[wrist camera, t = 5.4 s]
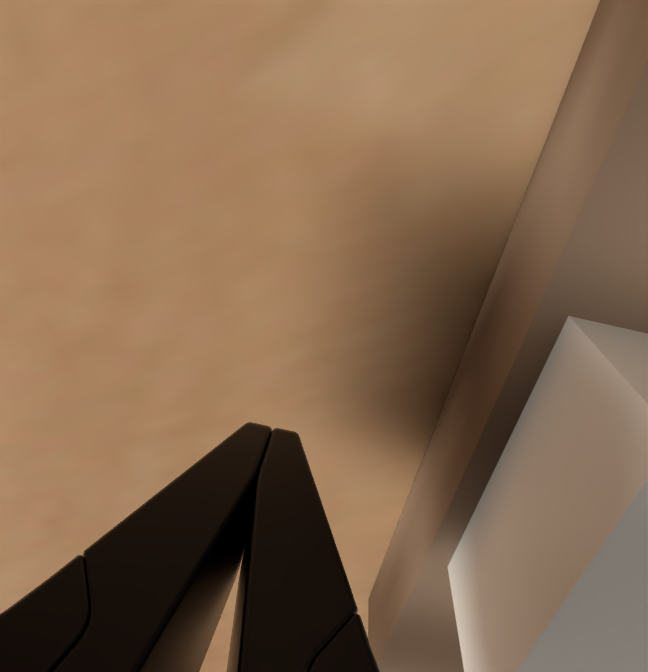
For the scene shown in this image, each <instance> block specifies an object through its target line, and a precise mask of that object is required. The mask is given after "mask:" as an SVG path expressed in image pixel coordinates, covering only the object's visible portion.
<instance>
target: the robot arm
mask: <svg viewBox="0 0 648 672" xmlns="http://www.w3.org/2000/svg"><path fill="white" fill-rule="evenodd" d="M242 557H243V559H242ZM241 560H242V565H241V571H240V577H239V583H238V591H237V598H236V606H235V613H234V621H233V628H232V636H231V643H230V651H229V658H228V666H227V672H380V670H379V668H378V665H377V662H376V659H375V657H374V654H373V651H372V649H371V646H370V643H369V640H368V637H367V634H366V631H365V629H364V626H363V623H362V620H361V617H360V615H358V614H357V612H358V609H357V606H356V603H355V600H354V597H353V594H352V591H351V588H350V585H349V582H348V579H347V576H346V573H345V570H344V567H343V564H342V561H341V558H340V556H339V553H338V550H337V547H336V544H335V541H334V538H333V535H332V532H331V529H330V526H329V523H328V520H327V517H326V514H325V511H324V508H323V505H322V502H321V499H320V496H319V493H318V491H317V488H316V485H315V482H314V479H313V476H312V473H311V470H310V467H309V464H308V461H307V458H306V455H305V452H304V449H303V446H302V443H301V440H300V437H299V435H298V434H297V433H296V432H293V431H289V430H284V429H279V428H275V429H274V430H273V431H272V429H271V428H270V427H269V426H265V425H261V424H256V423H252V422H249V423H246V424H245V425H243V426H242V427H241V428H240V429H238V430H237V431H236V432H234V433H233V434H232V435H231V436H229V437H228V438H227V439H226V440H224V441H223V442H222V443H221V444H219V445H218V446H217V447H215V448H214V449H213V450H212V451H210V452H209V453H208V454H207V455H205V456H204V457H203V458H202V459H200V460H199V461H198V462H196V463H195V464H194V465H193V466H191V467H190V468H189V469H188V470H186V471H185V472H184V473H182V474H181V475H180V476H179V477H177V478H176V479H175V480H174V481H172V482H171V483H170V484H169V485H167V486H166V487H165V488H163V489H162V490H161V491H160V492H158V493H157V494H156V495H155V496H153V497H152V498H151V499H150V500H148V501H147V502H146V503H144V504H143V505H142V506H141V507H139V508H138V509H137V510H136V511H134V512H133V513H132V514H130V515H129V516H128V517H127V518H125V519H124V520H123V521H122V522H120V523H119V524H118V525H117V526H115V527H114V528H113V529H111V530H110V531H109V532H108V533H106V534H105V535H104V536H103V537H101V538H100V539H99V540H98V541H96V542H95V543H94V544H92V545H91V546H90V547H89V548H87V549H86V550H85V551H84V553H83V556H82V555H78V556H77V557H75V558H74V559H73V560H72V561H70V562H69V563H68V564H67V565H65V566H64V567H63V568H62V569H60V570H59V571H58V572H56V573H55V574H54V575H53V576H51V577H50V578H49V579H47V580H46V581H45V582H43V583H42V584H41V585H39V586H38V587H37V588H35V589H34V590H33V591H31V592H30V593H29V594H27V595H26V596H25V597H23V598H22V599H21V600H19V601H18V602H17V603H15V604H14V605H13V606H11V607H10V608H9V609H7V610H6V611H4V612H3V613H1V614H0V672H199V671H200V668H201V666H202V663H203V660H204V658H205V655H206V653H207V650H208V648H209V645H210V643H211V640H212V637H213V635H214V632H215V630H216V627H217V625H218V622H219V619H220V617H221V614H222V612H223V609H224V607H225V604H226V601H227V599H228V596H229V594H230V591H231V589H232V586H233V584H234V581H235V578H236V575H237V573H238V570H239V567H240V564H241Z"/></svg>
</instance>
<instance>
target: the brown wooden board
mask: <svg viewBox="0 0 648 672" xmlns="http://www.w3.org/2000/svg"><path fill="white" fill-rule="evenodd" d="M568 316H572V317H576V318H581V319H585V320H590V321H594V322H598V323H603V324H607V325H612V326H616V327H621V328H625V329H629V330H634V331H638V332H643V333H647V334H648V0H600V2H599V5H598V8H597V10H596V13H595V15H594V18H593V21H592V23H591V26H590V28H589V31H588V33H587V36H586V39H585V41H584V44H583V46H582V49H581V52H580V54H579V57H578V59H577V62H576V65H575V67H574V70H573V72H572V75H571V77H570V80H569V83H568V85H567V88H566V90H565V93H564V96H563V98H562V101H561V103H560V106H559V108H558V111H557V114H556V116H555V119H554V121H553V124H552V127H551V129H550V132H549V134H548V137H547V139H546V142H545V145H544V147H543V150H542V152H541V155H540V158H539V160H538V163H537V165H536V168H535V171H534V173H533V176H532V178H531V181H530V183H529V186H528V189H527V191H526V194H525V196H524V199H523V202H522V204H521V207H520V209H519V212H518V214H517V217H516V220H515V222H514V225H513V227H512V230H511V233H510V235H509V238H508V240H507V243H506V246H505V248H504V251H503V253H502V256H501V258H500V261H499V264H498V266H497V269H496V271H495V274H494V277H493V279H492V282H491V284H490V287H489V289H488V292H487V295H486V297H485V300H484V302H483V305H482V308H481V310H480V313H479V315H478V318H477V320H476V323H475V326H474V328H473V331H472V333H471V336H470V339H469V341H468V344H467V346H466V349H465V352H464V354H463V357H462V359H461V362H460V364H459V367H458V370H457V372H456V375H455V377H454V380H453V383H452V385H451V388H450V390H449V393H448V395H447V398H446V401H445V403H444V406H443V408H442V411H441V414H440V416H439V419H438V421H437V424H436V427H435V429H434V432H433V434H432V437H431V439H430V442H429V445H428V447H427V450H426V452H425V455H424V458H423V460H422V463H421V465H420V468H419V470H418V473H417V476H416V478H415V481H414V483H413V486H412V489H411V491H410V494H409V496H408V499H407V502H406V504H405V507H404V509H403V512H402V514H401V517H400V520H399V522H398V525H397V527H396V530H395V533H394V535H393V538H392V540H391V543H390V545H389V548H388V551H387V553H386V556H385V558H384V561H383V564H382V566H381V569H380V571H379V574H378V576H377V579H376V582H375V584H374V587H373V589H372V592H371V595H370V597H369V622H368V640H369V643H370V646H371V649H372V651H373V654H374V657H375V659H376V662H377V665H378V668H379V670H380V672H464V667H463V661H462V655H461V648H460V642H459V636H458V630H457V623H456V617H455V611H454V604H453V598H452V592H451V586H450V579H449V573H448V565H449V563H450V561H451V559H452V557H453V555H454V552H455V550H456V548H457V546H458V544H459V542H460V540H461V538H462V536H463V534H464V532H465V530H466V528H467V525H468V523H469V521H470V519H471V517H472V515H473V513H474V511H475V509H476V507H477V505H478V503H479V501H480V498H481V496H482V494H483V492H484V490H485V488H486V486H487V484H488V482H489V480H490V478H491V476H492V474H493V472H494V469H495V467H496V465H497V463H498V461H499V459H500V457H501V455H502V453H503V451H504V449H505V447H506V445H507V442H508V440H509V438H510V436H511V434H512V432H513V430H514V428H515V426H516V424H517V422H518V420H519V418H520V415H521V413H522V411H523V409H524V407H525V405H526V403H527V401H528V399H529V397H530V395H531V393H532V391H533V388H534V386H535V384H536V382H537V380H538V378H539V376H540V374H541V372H542V370H543V368H544V366H545V364H546V361H547V359H548V357H549V355H550V353H551V351H552V349H553V347H554V345H555V343H556V341H557V339H558V337H559V334H560V332H561V330H562V328H563V326H564V324H565V322H566V320H567V318H568Z"/></svg>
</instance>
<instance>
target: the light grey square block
mask: <svg viewBox="0 0 648 672" xmlns="http://www.w3.org/2000/svg"><path fill="white" fill-rule="evenodd" d="M448 573H449V579H450V586H451V592H452V598H453V604H454V611H455V617H456V623H457V630H458V636H459V642H460V648H461V655H462V661H463V667H464V672H648V334H647V333H643V332H638V331H634V330H629V329H625V328H621V327H616V326H612V325H607V324H603V323H598V322H594V321H590V320H585V319H581V318H576V317H572V316H568V318H567V320H566V322H565V324H564V326H563V328H562V330H561V332H560V334H559V337H558V339H557V341H556V343H555V345H554V347H553V349H552V351H551V353H550V355H549V357H548V359H547V361H546V364H545V366H544V368H543V370H542V372H541V374H540V376H539V378H538V380H537V382H536V384H535V386H534V388H533V391H532V393H531V395H530V397H529V399H528V401H527V403H526V405H525V407H524V409H523V411H522V413H521V415H520V418H519V420H518V422H517V424H516V426H515V428H514V430H513V432H512V434H511V436H510V438H509V440H508V442H507V445H506V447H505V449H504V451H503V453H502V455H501V457H500V459H499V461H498V463H497V465H496V467H495V469H494V472H493V474H492V476H491V478H490V480H489V482H488V484H487V486H486V488H485V490H484V492H483V494H482V496H481V498H480V501H479V503H478V505H477V507H476V509H475V511H474V513H473V515H472V517H471V519H470V521H469V523H468V525H467V528H466V530H465V532H464V534H463V536H462V538H461V540H460V542H459V544H458V546H457V548H456V550H455V552H454V555H453V557H452V559H451V561H450V563H449V565H448Z"/></svg>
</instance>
